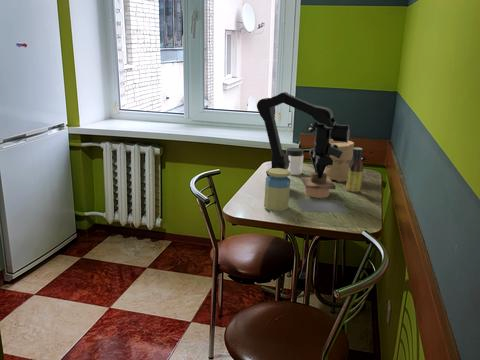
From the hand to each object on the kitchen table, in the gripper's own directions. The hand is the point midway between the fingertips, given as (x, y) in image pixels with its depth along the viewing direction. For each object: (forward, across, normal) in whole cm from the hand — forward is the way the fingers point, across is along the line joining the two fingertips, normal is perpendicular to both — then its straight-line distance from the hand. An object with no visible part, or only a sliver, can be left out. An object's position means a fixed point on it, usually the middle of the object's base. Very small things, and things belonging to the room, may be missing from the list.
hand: (318, 176), depth 184 cm
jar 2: (+9, +35, +5) cm, 36 cm away
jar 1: (+9, -18, +19) cm, 28 cm away
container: (+9, +28, -15) cm, 33 cm away
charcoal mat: (+8, -15, +1) cm, 17 cm away
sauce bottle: (+9, +6, -17) cm, 20 cm away
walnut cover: (+4, 0, 0) cm, 4 cm away
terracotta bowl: (+8, 0, 0) cm, 8 cm away
